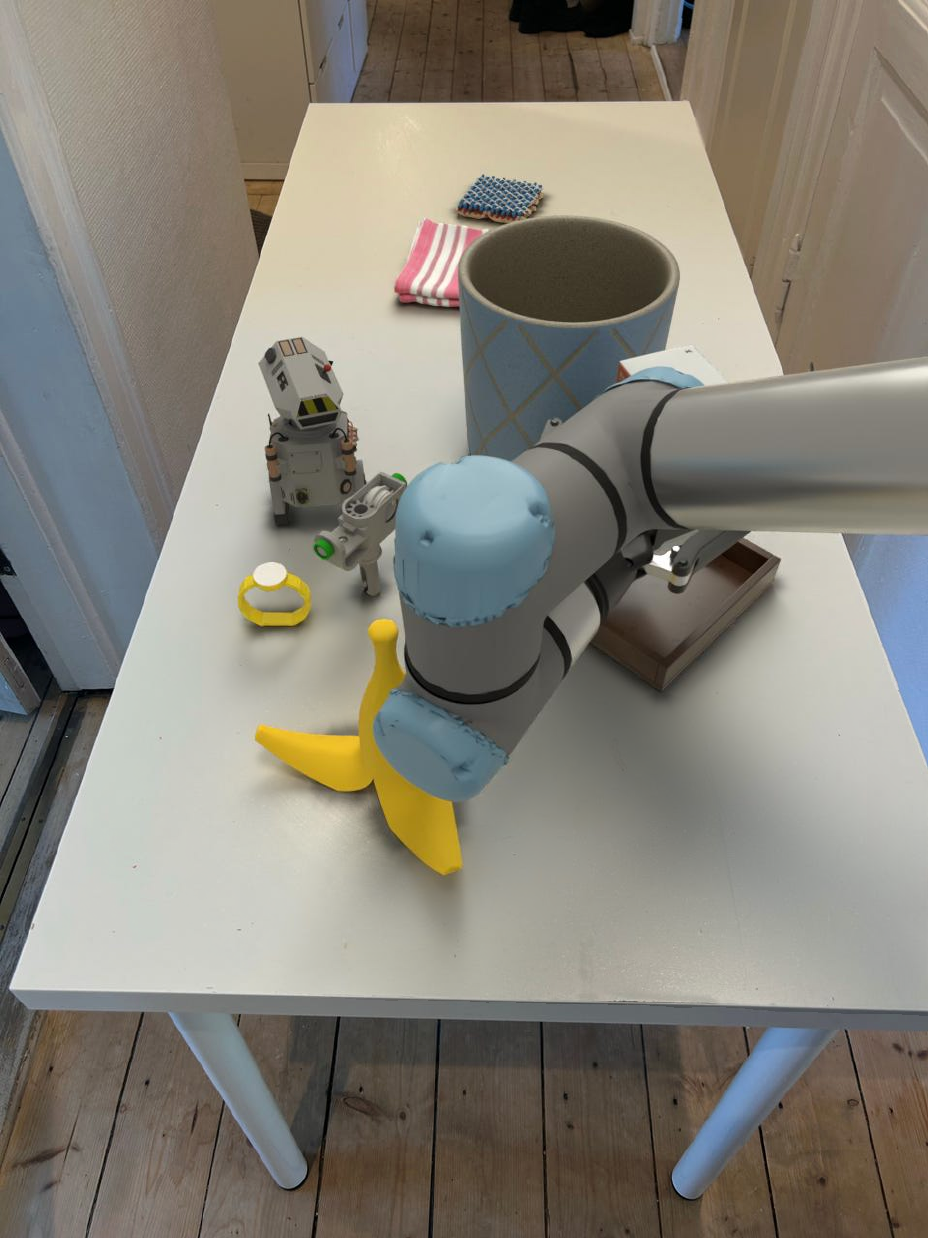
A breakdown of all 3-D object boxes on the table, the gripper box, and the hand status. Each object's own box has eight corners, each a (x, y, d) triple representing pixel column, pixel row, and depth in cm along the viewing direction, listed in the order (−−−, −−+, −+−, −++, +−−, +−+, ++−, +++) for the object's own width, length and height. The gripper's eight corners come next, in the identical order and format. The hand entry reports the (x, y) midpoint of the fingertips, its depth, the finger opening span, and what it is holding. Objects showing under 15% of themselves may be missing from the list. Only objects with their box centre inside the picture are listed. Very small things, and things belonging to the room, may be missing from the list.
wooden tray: (772, 583, 80) (781, 558, 78) (661, 692, 72) (667, 669, 70) (624, 496, 88) (628, 472, 85) (509, 587, 80) (510, 563, 78)
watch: (243, 634, 77) (228, 587, 72) (246, 610, 79) (232, 563, 74) (313, 631, 77) (303, 584, 73) (315, 607, 79) (305, 559, 74)
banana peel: (491, 676, 74) (493, 527, 61) (462, 897, 62) (457, 769, 49) (294, 658, 75) (256, 509, 62) (228, 870, 63) (164, 739, 50)
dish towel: (418, 240, 122) (416, 214, 119) (590, 250, 119) (593, 225, 117) (392, 306, 111) (390, 280, 108) (581, 320, 108) (584, 293, 106)
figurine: (366, 454, 92) (350, 323, 81) (369, 531, 85) (352, 399, 74) (277, 460, 92) (249, 329, 81) (273, 539, 84) (240, 406, 73)
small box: (598, 493, 75) (616, 358, 65) (666, 476, 77) (694, 341, 67) (642, 558, 70) (669, 423, 60) (714, 538, 72) (752, 402, 62)
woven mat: (547, 195, 130) (547, 181, 128) (523, 229, 123) (524, 214, 122) (479, 185, 132) (479, 171, 131) (453, 217, 126) (452, 202, 124)
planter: (479, 386, 100) (478, 207, 85) (652, 403, 97) (683, 222, 82) (445, 500, 88) (437, 315, 72) (641, 523, 85) (676, 336, 70)
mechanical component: (321, 618, 78) (304, 535, 70) (393, 549, 83) (385, 465, 76) (347, 633, 77) (333, 550, 69) (419, 562, 82) (413, 478, 75)
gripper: (414, 567, 65) (562, 409, 77) (703, 704, 57) (819, 503, 69) (408, 489, 60) (569, 331, 72) (728, 628, 51) (850, 424, 63)
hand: (692, 416), depth 70 cm, fingers closed on small box, 10 cm apart
